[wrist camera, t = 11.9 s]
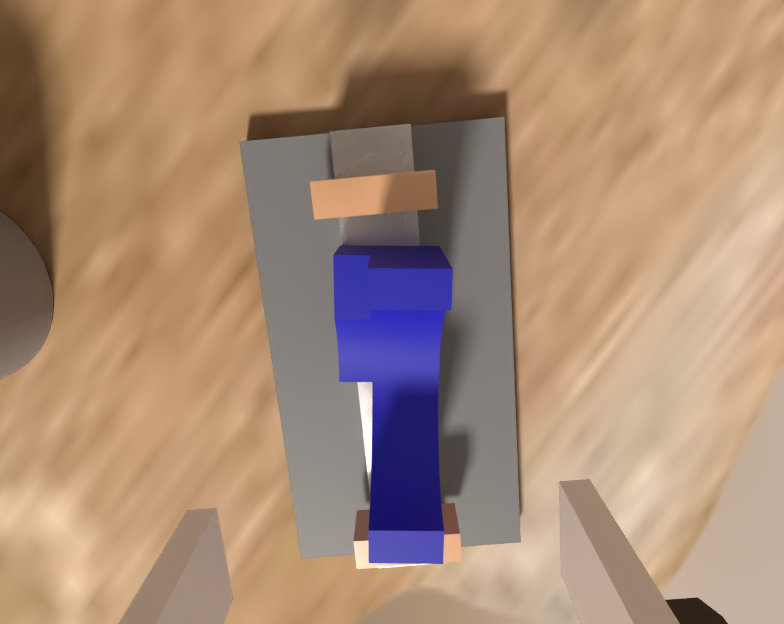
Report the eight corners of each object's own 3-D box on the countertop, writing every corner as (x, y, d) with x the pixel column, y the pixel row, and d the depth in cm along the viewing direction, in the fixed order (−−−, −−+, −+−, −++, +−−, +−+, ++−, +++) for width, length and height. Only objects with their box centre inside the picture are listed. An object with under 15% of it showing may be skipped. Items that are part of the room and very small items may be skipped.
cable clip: (340, 245, 26) (323, 267, 20) (439, 245, 26) (452, 268, 20) (344, 482, 29) (331, 562, 23) (433, 483, 29) (443, 563, 23)
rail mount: (246, 142, 27) (214, 137, 22) (499, 118, 27) (522, 108, 22) (304, 544, 32) (289, 609, 28) (516, 528, 32) (537, 591, 27)
